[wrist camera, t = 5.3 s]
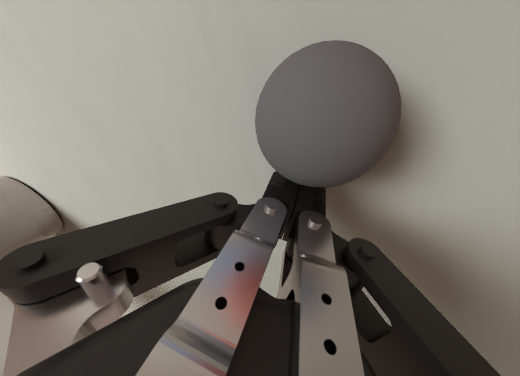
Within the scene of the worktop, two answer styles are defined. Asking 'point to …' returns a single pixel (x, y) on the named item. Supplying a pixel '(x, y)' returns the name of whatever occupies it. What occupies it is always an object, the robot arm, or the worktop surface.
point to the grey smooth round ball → (328, 113)
